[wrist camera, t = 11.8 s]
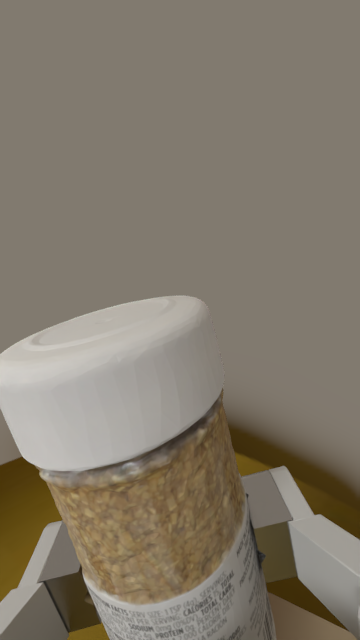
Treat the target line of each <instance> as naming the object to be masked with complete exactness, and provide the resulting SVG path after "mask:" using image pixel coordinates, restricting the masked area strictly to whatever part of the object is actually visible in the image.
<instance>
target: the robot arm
mask: <svg viewBox="0 0 360 640" xmlns="http://www.w3.org/2000/svg"><path fill="white" fill-rule="evenodd" d="M241 479H242V481H243V484H244V488H245V492H246V497H247V501H248V507H249V516H250V521H251V526H252V530H253V535H254V539H255V542H256V548H257V553H258V557H259V562H260V566H261V570H262V573H263V576H264V579H265V582H266V583H269V582H274V581H278V580H283V579H288V578H293V577H298V579H299V580H300V581H301V582H302V583H303V584H304V585H305V586H306V587H307V588H308V589H309V590H310V591H311V592H312V593H313V594H314V595H315V596H316V597H317V598H318V599H319V600H320V601H321V602H322V603H323V604H324V605H325V607H326V608H327V609H328V610H329V611H330V612H331V613H332V614H333V615H334V616H335V617H336V618H337V619H338V620H339V621H340V622H341V623H342V624H343V625H344V626H345V627H346V628H347V629H348V630H349V631H350V632H351V633H352V634H353V635H354V636H355V638H356V639H357V640H360V540H359V539H357V538H356V537H354V536H353V535H351V534H350V533H348V532H347V531H345V530H344V529H342V528H341V527H339V526H337V525H336V524H334V523H333V522H331V521H330V520H328V519H327V518H325V517H324V516H322V515H321V514H318V515H314V513H313V512H312V510H311V508H310V507H309V505H308V503H307V501H306V500H305V498H304V496H303V495H302V493H301V491H300V489H299V488H298V486H297V484H296V483H295V481H294V479H293V478H292V476H291V474H290V472H289V471H288V469H287V468H286V467H285V466H281V467H278V468H274V469H270V470H266V471H262V472H258V473H254V474H250V475H247V476H243V477H241ZM101 621H102V620H101V617H100V615H99V613H98V611H97V609H96V606H95V604H94V602H93V600H92V597H91V595H90V593H89V590H88V588H87V585H86V583H85V581H84V578H83V574H82V566H81V564H80V562H79V559H78V557H77V554H76V551H75V547H74V546H73V542H72V540H71V538H70V536H69V534H68V528H67V526H66V524H65V523H64V522H63V521H58V522H53V523H49V524H48V525H47V526H46V527H45V529H44V530H43V533H42V535H41V537H40V539H39V542H38V544H37V546H36V548H35V550H34V553H33V555H32V557H31V559H30V562H29V564H28V566H27V568H26V570H25V573H24V575H23V577H22V579H21V582H20V584H19V586H18V588H17V589H13V590H11V591H10V593H9V594H8V595H7V596H6V597H5V598H4V599H3V600H2V601H1V603H0V640H67V638H68V636H69V634H68V633H70V632H73V631H77V630H80V629H84V628H87V627H91V626H94V625H98V624H101Z"/></svg>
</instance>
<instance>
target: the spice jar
mask: <svg viewBox="0 0 360 640" xmlns="http://www.w3.org/2000/svg"><path fill="white" fill-rule="evenodd" d="M224 376H225V375H224V368H223V364H222V359H221V355H220V351H219V347H218V342H217V338H216V334H215V330H214V326H213V322H212V319H211V315H210V311H209V309H208V307H207V305H206V304H205V303H204V302H203V301H201V300H200V299H198V298H195V297H191V296H165V297H157V298H150V299H145V300H140V301H134V302H129V303H125V304H120V305H116V306H112V307H109V308H106V309H102V310H98V311H95V312H91V313H88V314H85V315H82V316H79V317H76V318H73V319H71V320H68V321H66V322H62V323H60V324H57V325H55V326H52V327H49V328H47V329H45V330H43V331H40V332H38V333H35V334H34V335H31V336H29V337H28V338H25V339H23V340H21V341H19V342H18V343H16V344H14V345H13V346H11V347H9V348H8V349H6V350H5V351H4V352H2V353H1V354H0V408H1V410H2V412H3V415H4V417H5V420H6V422H7V424H8V427H9V429H10V431H11V433H12V436H13V438H14V440H15V443H16V445H17V447H18V449H19V451H20V453H21V454H22V456H23V457H24V458H25V459H26V460H27V461H28V462H30V463H32V464H34V465H35V467H36V468H37V469H38V470H39V471H40V473H39V475H40V477H41V478H42V479H43V480H44V481H46V482H47V485H48V487H49V489H50V491H51V494H52V496H53V498H54V500H55V503H56V506H57V508H58V510H59V513H60V515H61V516H62V519H63V522H64V523H65V524H66V526H67V528H68V534H69V536H70V538H71V540H72V542H73V546H74V547H75V551H76V554H77V557H78V559H79V562H80V564H81V566H82V574H83V578H84V581H85V583H86V585H87V588H88V590H89V593H90V595H91V597H92V600H93V602H94V604H95V606H96V609H97V611H98V613H99V615H100V617H101V620H102V622H103V624H104V627H105V629H106V632H107V634H108V636H109V638H110V640H276V631H275V624H274V619H273V614H272V610H271V605H270V601H269V597H268V592H267V587H266V583H265V579H264V576H263V573H262V570H261V566H260V562H259V557H258V553H257V548H256V542H255V539H254V535H253V530H252V526H251V521H250V516H249V507H248V501H247V497H246V492H245V488H244V484H243V481H242V479H241V476H240V474H239V472H238V468H237V464H236V458H235V454H234V450H233V448H232V444H231V438H230V433H229V429H228V425H227V418H226V414H225V411H224V408H223V403H222V398H223V384H224Z"/></svg>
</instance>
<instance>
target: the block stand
mask: <svg viewBox="0 0 360 640" xmlns="http://www.w3.org/2000/svg"><path fill="white" fill-rule="evenodd" d="M267 592H268V591H267ZM268 597H269V601H270V605H271V610H272V614H273V619H274V624H275V631H276V640H357V639H356V638H355V636H354V635H353V634H352V633H351V632H349V631H347V630H345V629H343V628H341V627H339V626H337V625H335V624H333V623H331V622H329V621H327V620H325V619H323V618H321V617H318V616H316V615H314V614H312V613H310V612H308V611H306V610H304V609H302V608H300V607H298V606H296V605H294V604H292V603H290V602H288V601H286V600H284V599H282V598H280V597H278V596H276V595H274V594H272V593H270V592H268Z"/></svg>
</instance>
